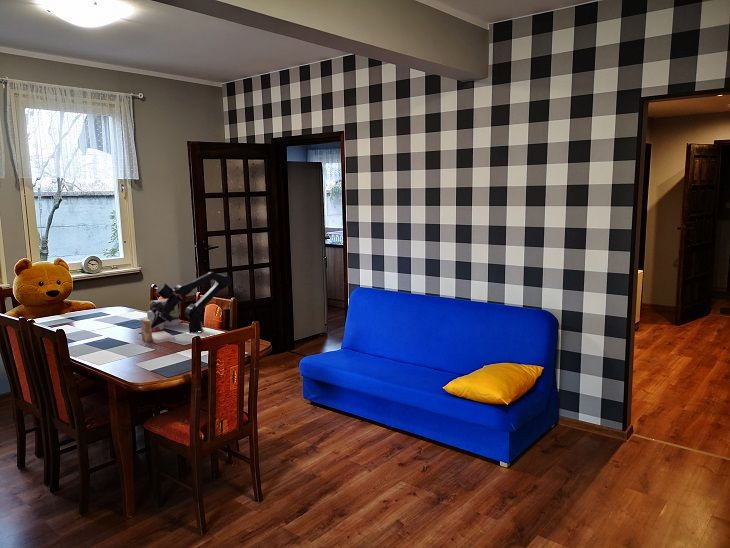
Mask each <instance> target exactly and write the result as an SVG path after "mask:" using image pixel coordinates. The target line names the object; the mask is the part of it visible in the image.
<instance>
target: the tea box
mask: <svg viewBox="0 0 730 548" xmlns="http://www.w3.org/2000/svg"><path fill="white" fill-rule="evenodd" d="M152 301H154V302H158V301H159V302H162V303H163V302H166V301H167V298H166V299H157V300H156V299H155V300H150V303H149V304H150V305H151V302H152ZM178 304H179V303H178ZM178 304H177V305H176V307H175V308H174V309H175V310H174V311H173V310H172V311H171V313H170V314H169V315H170V316H172V317H173V320H172V321H171V322H169V321H168V320H167V319H166V320H165V321H166V322H163V323H164V327H173V326H180V315H179V307H178ZM150 305H149V307H150ZM152 308H153V307H150V310H151V309H152Z"/></svg>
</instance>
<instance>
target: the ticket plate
mask: <svg viewBox="0 0 730 548" xmlns="http://www.w3.org/2000/svg"><path fill="white" fill-rule="evenodd" d="M175 340H176V336H174V335H172V334H170V333H168V332H167V331H165V330H160V331H157V332H152V341H151V342H153V343H155V344H158V343H165V342H170V341H175Z"/></svg>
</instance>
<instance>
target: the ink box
mask: <svg viewBox="0 0 730 548" xmlns="http://www.w3.org/2000/svg"><path fill="white" fill-rule="evenodd" d="M146 315H147V316H146V317H147V319H149V320H150V321H151V324H152V322H153V319H154V313H153V312H152V311H151V309H150V310H147V312H146ZM164 328H165V326H164V323H161V324H159V325H157V326H155V327H153V328H151V330H152V333H155V332H160V331H163V330H164ZM159 330H160V331H159Z"/></svg>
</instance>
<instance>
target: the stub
mask: <svg viewBox="0 0 730 548" xmlns="http://www.w3.org/2000/svg"><path fill="white" fill-rule="evenodd" d="M140 329H141V337H142V338H141V339H142V340H143V341H145V342H146V343H148V342H153V341H152V333H153V332H152V330H151V321H150V320H149V319H148V317H147V318H141V319H140Z"/></svg>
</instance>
